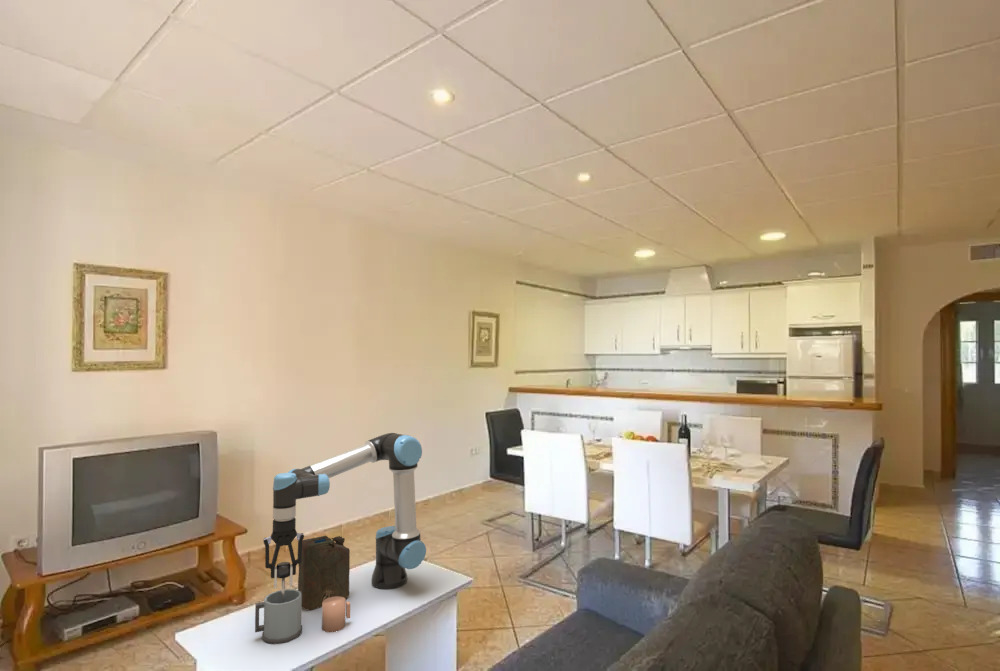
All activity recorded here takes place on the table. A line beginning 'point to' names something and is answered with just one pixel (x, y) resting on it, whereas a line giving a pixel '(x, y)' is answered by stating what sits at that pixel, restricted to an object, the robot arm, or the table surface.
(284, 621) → the faceted grey tankard
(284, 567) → the plunger
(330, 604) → the peach mug
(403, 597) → the table surface
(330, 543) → the canister
